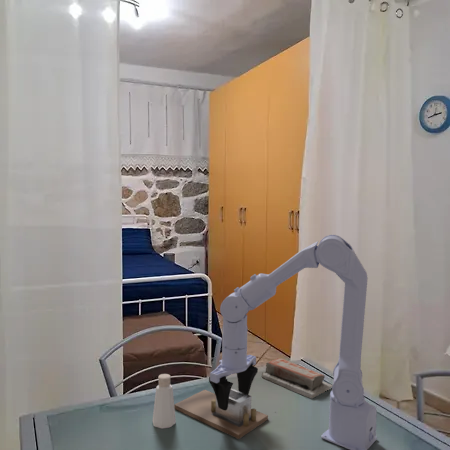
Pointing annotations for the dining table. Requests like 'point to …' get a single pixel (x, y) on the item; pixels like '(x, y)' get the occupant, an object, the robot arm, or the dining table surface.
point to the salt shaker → (164, 403)
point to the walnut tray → (206, 412)
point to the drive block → (236, 406)
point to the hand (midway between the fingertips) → (233, 402)
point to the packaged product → (295, 378)
